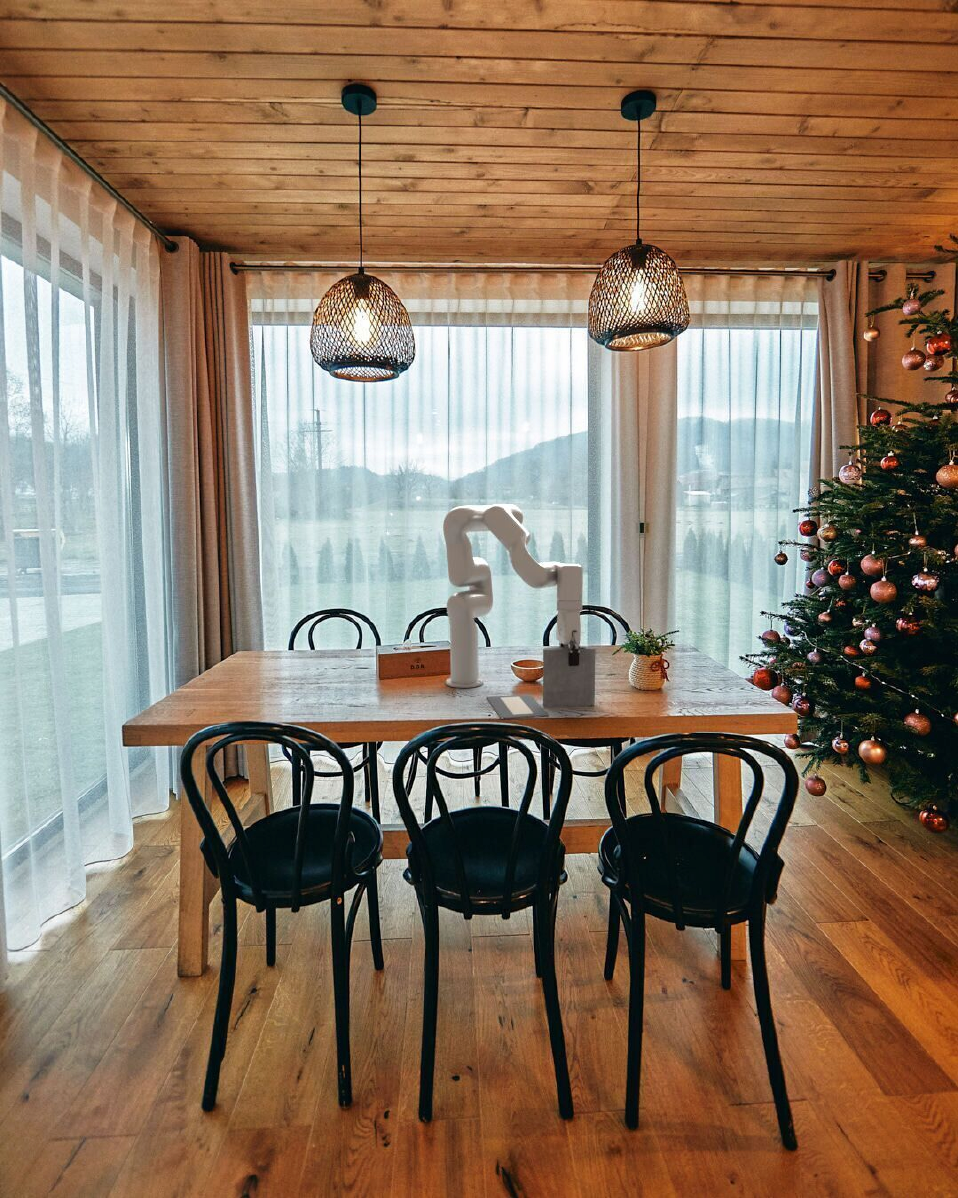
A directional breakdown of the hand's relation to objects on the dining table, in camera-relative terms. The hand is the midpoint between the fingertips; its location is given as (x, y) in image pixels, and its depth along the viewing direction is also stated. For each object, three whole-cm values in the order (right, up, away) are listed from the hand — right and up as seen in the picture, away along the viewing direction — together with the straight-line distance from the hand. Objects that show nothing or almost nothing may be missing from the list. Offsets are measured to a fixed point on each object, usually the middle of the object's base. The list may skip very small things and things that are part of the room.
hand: (568, 662), depth 207 cm
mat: (-16, -13, 0) cm, 21 cm away
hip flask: (0, -13, +2) cm, 13 cm away
